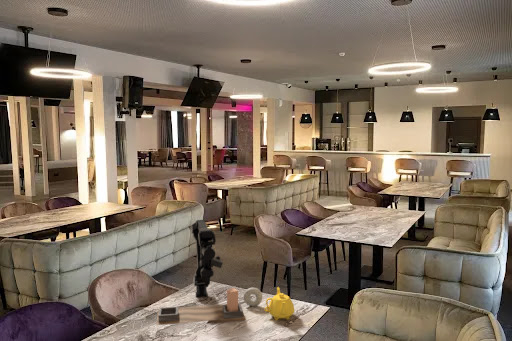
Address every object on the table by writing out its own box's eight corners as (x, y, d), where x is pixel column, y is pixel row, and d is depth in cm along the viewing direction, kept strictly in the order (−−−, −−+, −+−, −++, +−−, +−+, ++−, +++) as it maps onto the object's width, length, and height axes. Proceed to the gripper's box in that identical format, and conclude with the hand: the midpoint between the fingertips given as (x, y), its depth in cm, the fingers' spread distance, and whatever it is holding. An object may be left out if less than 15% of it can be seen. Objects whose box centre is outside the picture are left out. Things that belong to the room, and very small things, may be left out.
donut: (262, 304, 218) (262, 286, 217) (262, 307, 214) (262, 289, 214) (243, 304, 218) (243, 286, 217) (243, 307, 215) (243, 288, 214)
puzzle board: (158, 312, 209) (158, 303, 209) (240, 306, 216) (240, 297, 216) (156, 327, 192) (155, 318, 192) (245, 320, 199) (245, 311, 199)
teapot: (262, 308, 214) (262, 287, 213) (290, 307, 215) (290, 285, 214) (267, 326, 194) (267, 302, 193) (298, 325, 195) (298, 301, 194)
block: (227, 313, 204) (226, 289, 203) (234, 311, 206) (234, 288, 205) (231, 316, 200) (230, 292, 199) (238, 314, 203) (238, 290, 202)
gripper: (223, 258, 204) (223, 289, 205) (220, 248, 222) (220, 276, 223) (200, 259, 202) (201, 290, 203) (199, 249, 220) (199, 277, 222)
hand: (206, 283), depth 213 cm, fingers open, 9 cm apart
